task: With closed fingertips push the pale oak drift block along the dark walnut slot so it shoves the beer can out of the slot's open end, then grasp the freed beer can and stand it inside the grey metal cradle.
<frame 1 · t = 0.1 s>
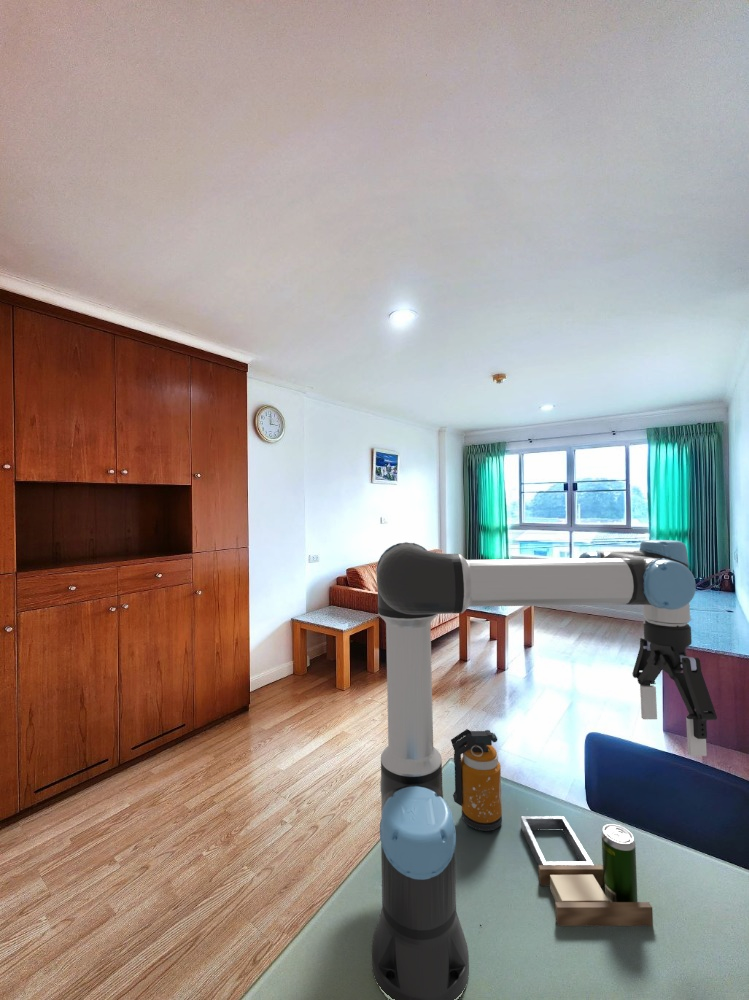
hand: (671, 735, 82), 28 cm above the table, fingers open, 13 cm apart
canister: (477, 820, 100), on the table
drift block: (578, 904, 78), on the table
cradle: (554, 851, 90), on the table
beer can: (620, 903, 78), on the table
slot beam: (592, 902, 78), on the table
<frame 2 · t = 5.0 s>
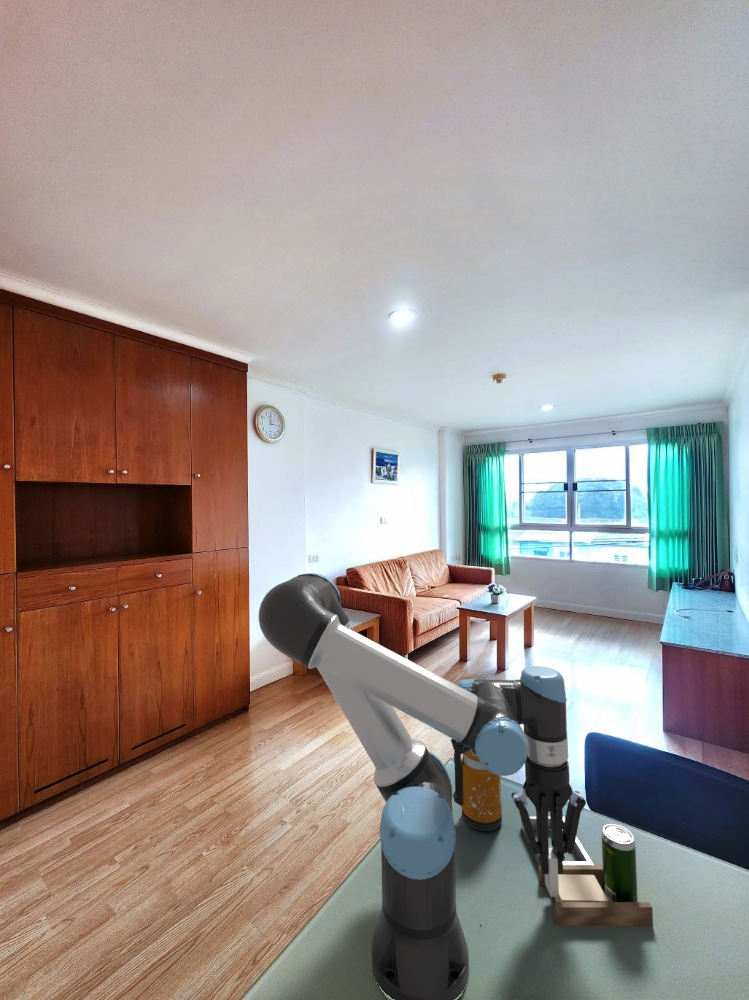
hand: (552, 890, 78), 2 cm above the table, fingers closed
drift block: (578, 904, 78), on the table, touching gripper
everything else where it was.
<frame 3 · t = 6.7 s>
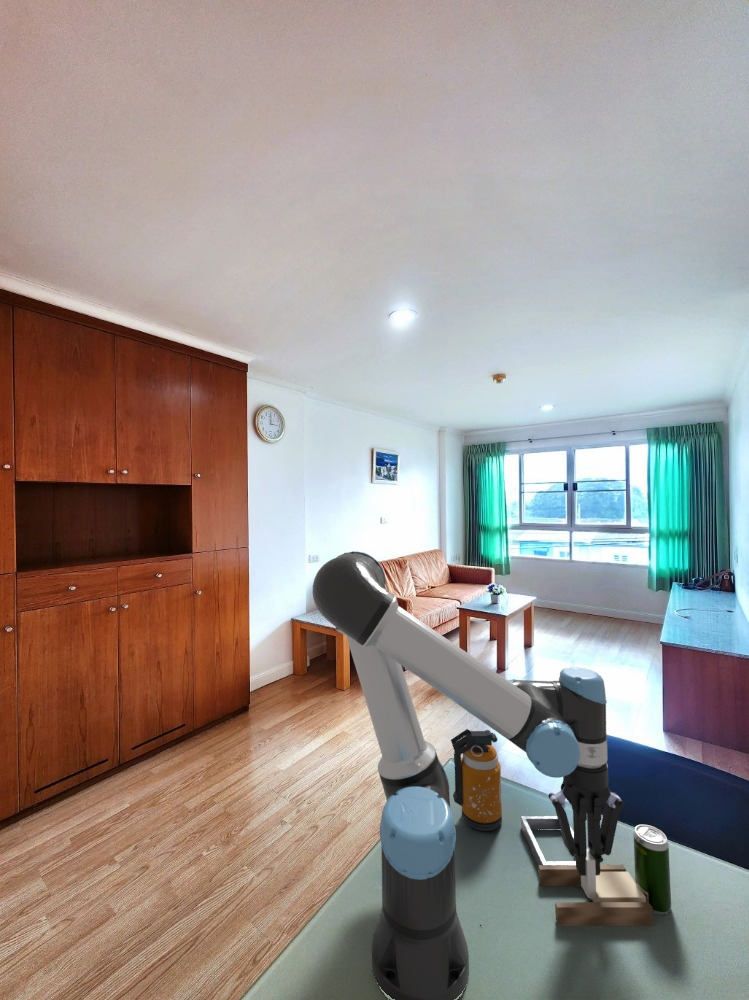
hand: (588, 891, 78), 2 cm above the table, fingers closed
drift block: (614, 901, 78), on the table, touching gripper
beer can: (653, 904, 78), on the table
everything else where it was.
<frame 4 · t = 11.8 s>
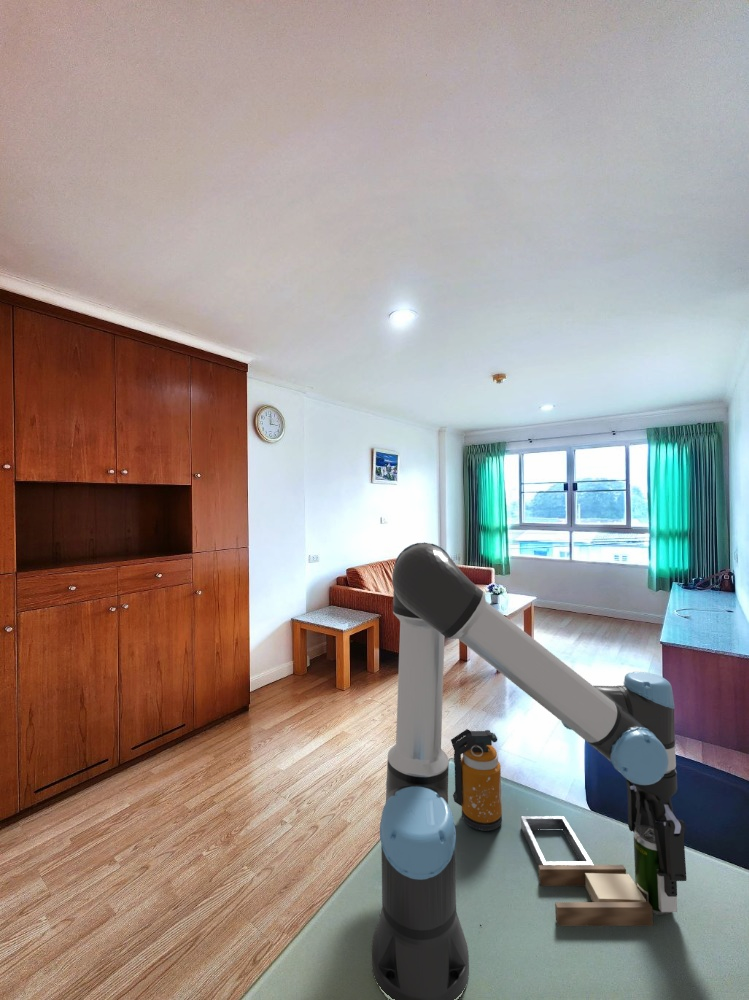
hand: (656, 894, 78), 1 cm above the table, fingers closed on beer can, 5 cm apart
drift block: (614, 903, 78), on the table
beer can: (653, 903, 78), on the table, touching gripper
everything else where it was.
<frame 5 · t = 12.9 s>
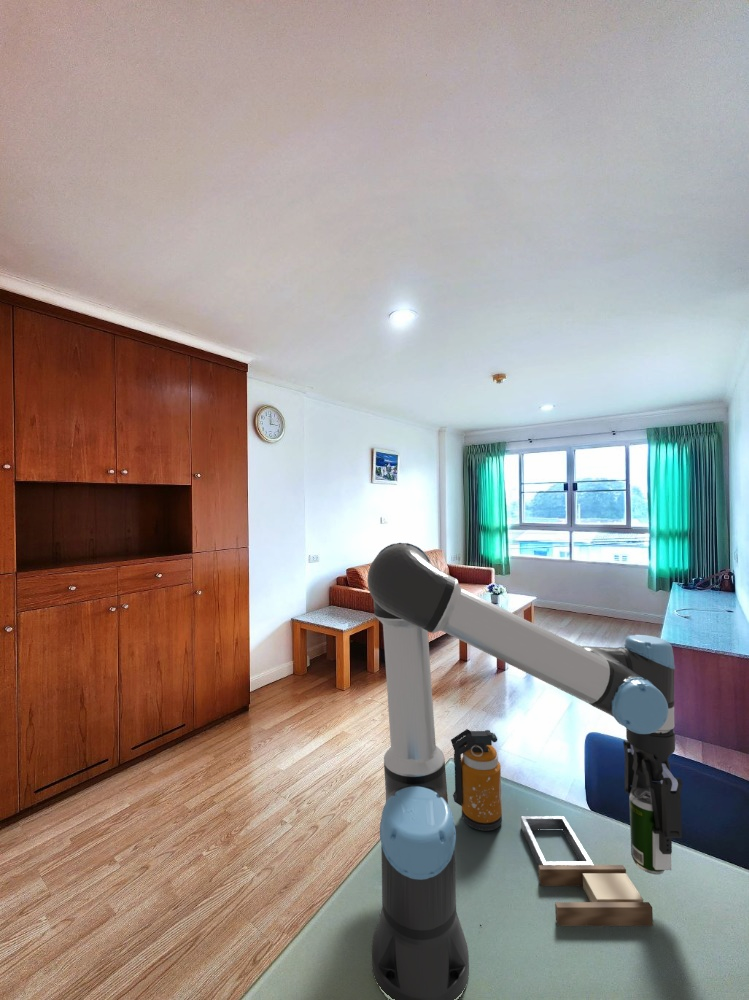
hand: (651, 854, 78), 8 cm above the table, fingers closed on beer can, 5 cm apart
beer can: (648, 864, 78), point 6 cm above the table, touching gripper
everything else where it was.
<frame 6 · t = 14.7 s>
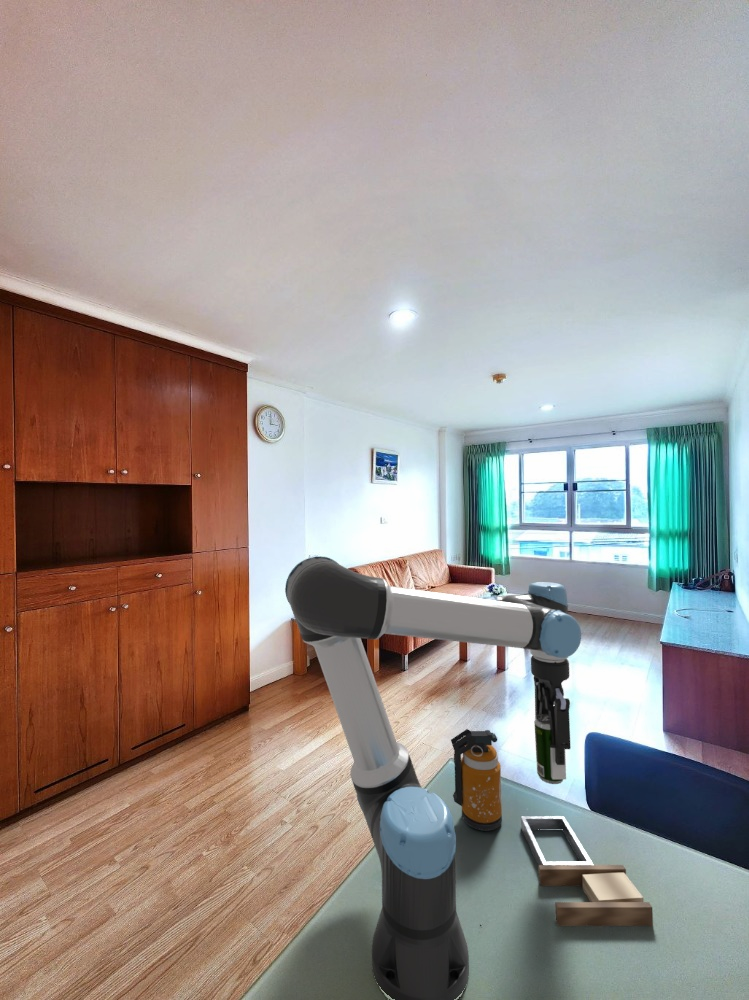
hand: (552, 769, 91), 17 cm above the table, fingers closed on beer can, 5 cm apart
beer can: (550, 778, 91), point 15 cm above the table, touching gripper
everything else where it was.
when the fingers open (3 cm above the table, at t = 17.6 s): beer can drops 1 cm, on the table.
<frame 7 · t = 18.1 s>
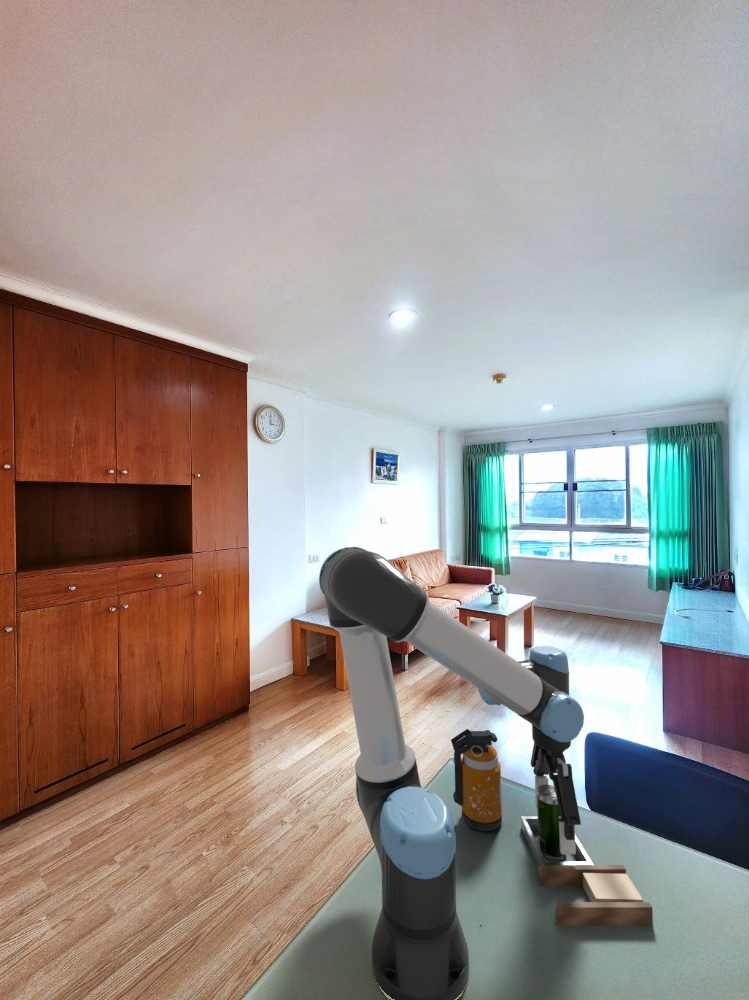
hand: (554, 828, 90), 5 cm above the table, fingers open, 13 cm apart
beer can: (552, 852, 90), on the table
everything else where it was.
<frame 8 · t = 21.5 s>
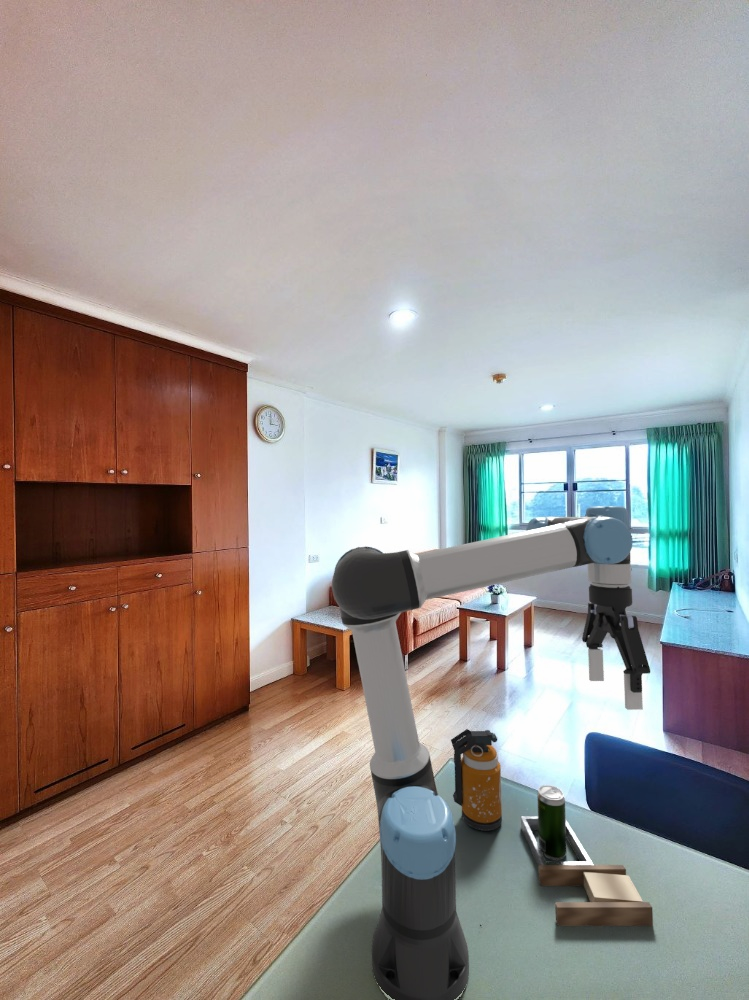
hand: (613, 693, 85), 35 cm above the table, fingers open, 13 cm apart
nothing on the table moved.
at the end: beer can inside the target area on the cradle (0.5 cm from its centre), point 0.0 cm above the cradle's base; beer can tilted 1°; the gripper is holding nothing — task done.
